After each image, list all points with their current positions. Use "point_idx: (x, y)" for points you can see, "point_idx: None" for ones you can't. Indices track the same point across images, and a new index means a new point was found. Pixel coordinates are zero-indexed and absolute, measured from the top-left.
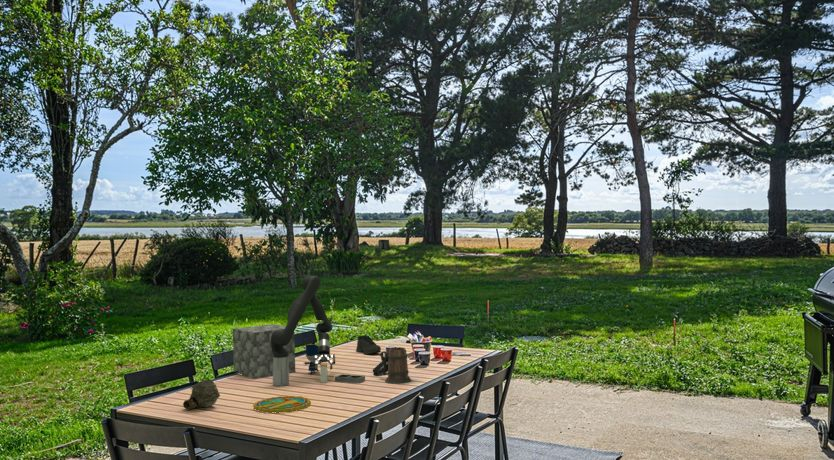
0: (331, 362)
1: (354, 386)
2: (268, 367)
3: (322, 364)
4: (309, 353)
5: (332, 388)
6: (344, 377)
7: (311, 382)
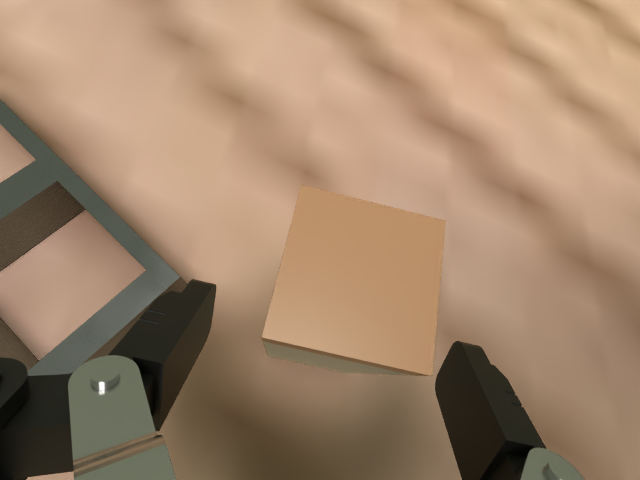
0: (113, 365)
1: (99, 24)
2: None
3: (395, 238)
4: None
5: (293, 48)
6: (81, 182)
7: None
